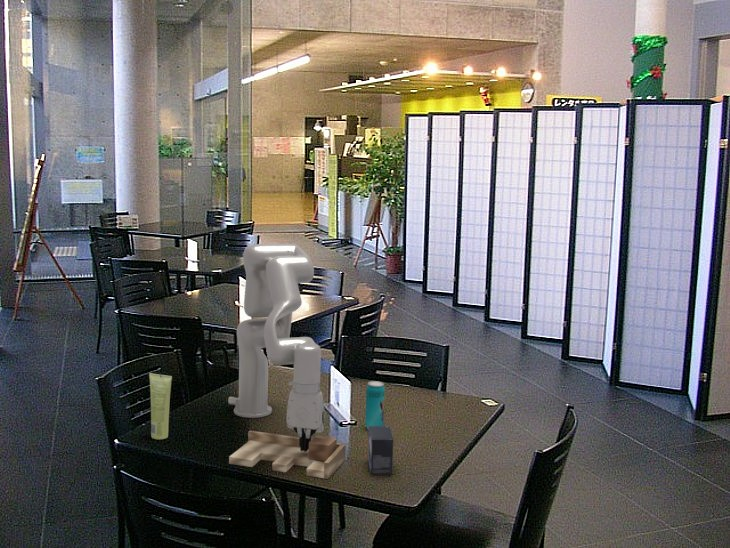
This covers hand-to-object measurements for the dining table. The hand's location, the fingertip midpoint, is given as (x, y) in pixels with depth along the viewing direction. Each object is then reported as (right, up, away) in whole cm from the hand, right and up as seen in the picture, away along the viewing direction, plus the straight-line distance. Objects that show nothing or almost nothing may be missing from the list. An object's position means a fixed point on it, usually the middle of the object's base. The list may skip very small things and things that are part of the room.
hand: (304, 449), depth 231 cm
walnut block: (+5, -2, -2) cm, 6 cm away
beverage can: (+20, 0, +29) cm, 35 cm away
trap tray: (-5, -3, -1) cm, 6 cm away
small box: (+21, -5, -2) cm, 22 cm away
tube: (-45, 0, +14) cm, 47 cm away
